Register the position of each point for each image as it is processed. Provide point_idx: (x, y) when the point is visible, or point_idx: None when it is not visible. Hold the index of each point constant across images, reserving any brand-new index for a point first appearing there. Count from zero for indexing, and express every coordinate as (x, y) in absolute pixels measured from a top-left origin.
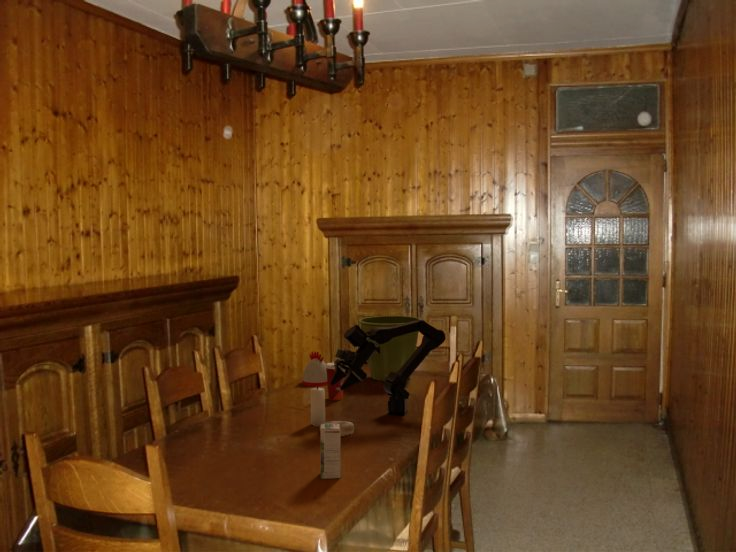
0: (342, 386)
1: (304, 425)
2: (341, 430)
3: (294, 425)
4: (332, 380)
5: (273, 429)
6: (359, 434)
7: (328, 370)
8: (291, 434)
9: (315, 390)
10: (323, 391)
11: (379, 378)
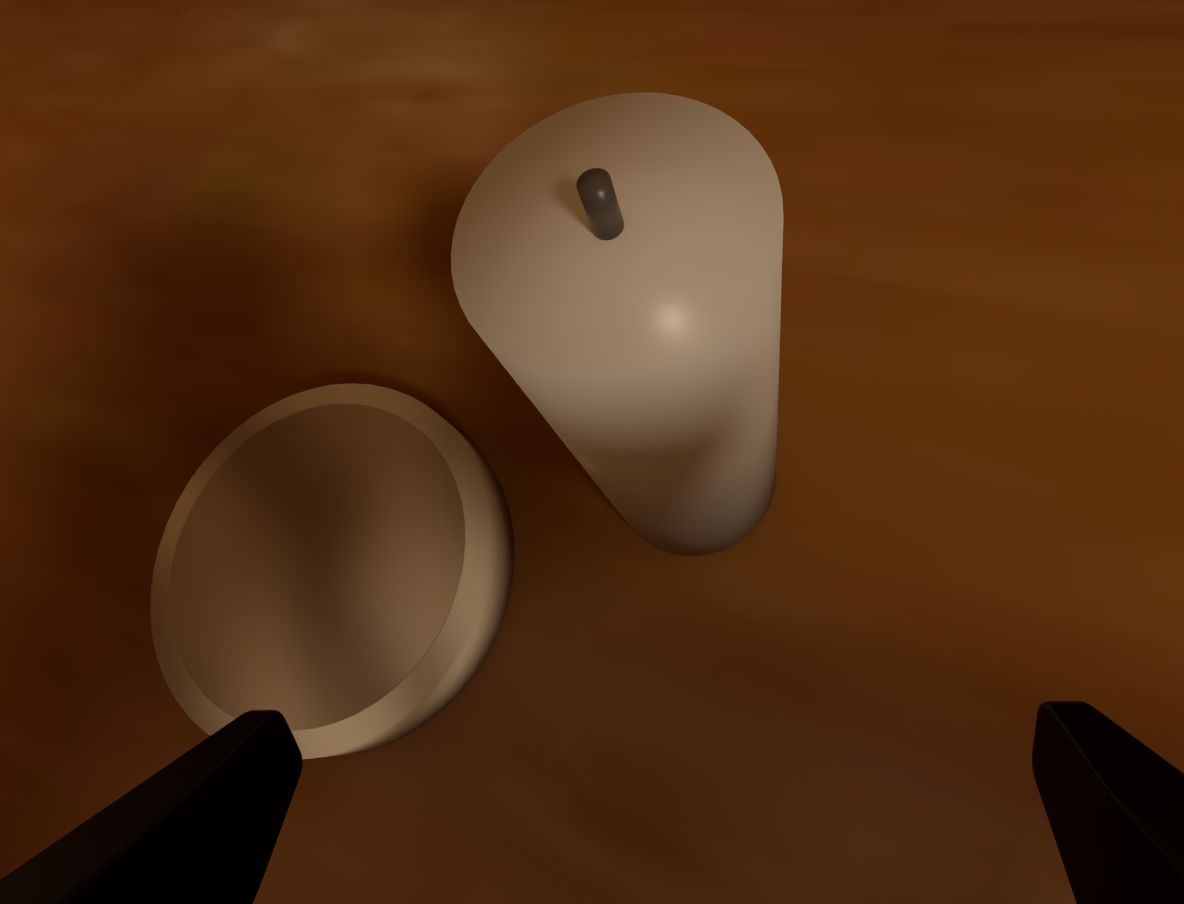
0: (169, 781)
1: None
2: (165, 542)
3: None
4: (1115, 811)
5: (708, 74)
6: (153, 740)
7: None
8: None
9: (531, 170)
10: (483, 340)
11: None
